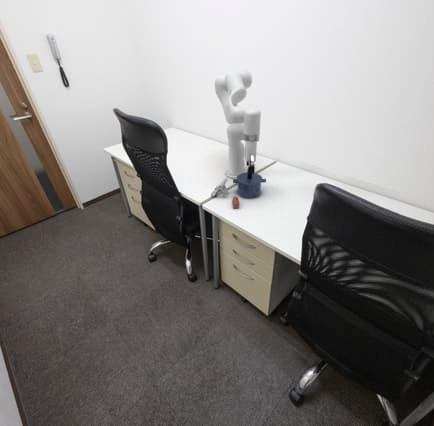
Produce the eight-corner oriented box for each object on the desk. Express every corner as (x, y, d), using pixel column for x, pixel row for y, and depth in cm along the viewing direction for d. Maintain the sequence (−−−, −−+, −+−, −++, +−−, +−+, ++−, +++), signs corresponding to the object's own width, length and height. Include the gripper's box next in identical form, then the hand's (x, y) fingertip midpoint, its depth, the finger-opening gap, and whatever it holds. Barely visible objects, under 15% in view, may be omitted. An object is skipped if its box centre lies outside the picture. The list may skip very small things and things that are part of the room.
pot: (232, 186, 138) (232, 173, 133) (263, 186, 137) (264, 173, 132) (233, 198, 128) (233, 185, 122) (266, 198, 127) (267, 184, 122)
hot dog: (232, 200, 126) (232, 195, 124) (238, 200, 126) (238, 195, 124) (232, 209, 120) (232, 204, 118) (239, 209, 120) (239, 204, 118)
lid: (236, 174, 133) (236, 164, 130) (260, 173, 133) (261, 163, 129) (237, 186, 122) (237, 175, 119) (263, 186, 122) (264, 175, 119)
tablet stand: (216, 189, 136) (216, 176, 131) (229, 191, 134) (229, 178, 129) (211, 196, 130) (210, 183, 125) (224, 199, 127) (224, 185, 122)
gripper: (242, 131, 121) (242, 162, 131) (245, 143, 107) (244, 177, 117) (257, 131, 120) (255, 162, 131) (261, 142, 106) (259, 176, 117)
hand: (250, 169), depth 124 cm, fingers open, 9 cm apart
